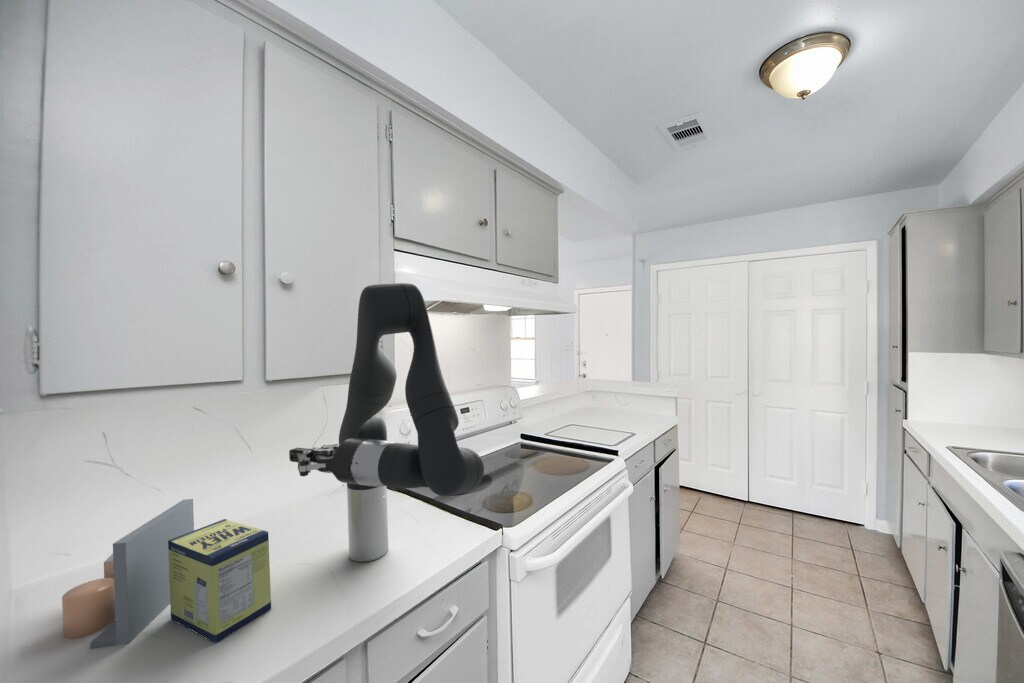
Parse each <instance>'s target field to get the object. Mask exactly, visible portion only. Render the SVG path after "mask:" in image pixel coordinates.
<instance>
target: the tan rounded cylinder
mask: <svg viewBox="0 0 1024 683" xmlns="http://www.w3.org/2000/svg"><path fill="white" fill-rule="evenodd" d="M61 605H62V606H61V607H62V626H63V628H62V630H63V638H64V639H68V640H69V639H70V640H71V639H79V638H82V637H88V636H90V635H92V634H95V633H97V632H99V631H101V630H103V629H105V628H108V627H109V626H110V625H111V624H112V623H113V622H115V621H116V617H115V590H114V579H113V578H104V577H103V578H96V579H93V580H90V581H87V582H84V583H81V584H79V585H77V586H75V587H73V588H71V589H69V590H68V591H65V593H64V594H63V595H62V597H61Z"/></svg>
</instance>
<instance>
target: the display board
mask: <svg viewBox="0 0 1024 683" xmlns="http://www.w3.org/2000/svg"><path fill="white" fill-rule="evenodd" d="M194 516H195V515H194V499H193V498H189V499H182V500H181V501H179V502H177V503H176V504H174V505H173V506H171V507H169V508H168V509H166V510H165V511H163V512H161V513H159V514H158V515H156V516H155V517H153V518H152V519H150V520H148V521H147V522H144V524H142V525H141V526H139V527H138V528H136V529H134V530H132V531H131V532H130V533H128V534H126V535H124V536H123V537H121V538H120V539H118V540H116V541H115V542H113V543H112V554H113V563H114V590H115V617H116V619H115V620H114V621H113V622H112V623H111V624H110V625H108V626H107V627H105V628H106V629H105V628H104V630H103V631H101V633H99V634H98V635H97V636H96V637H95V638H93V640H92V641H90V642H89V647H90V648H89V649H96V648H103V647H109V646H117V645H118V646H119V645H125V644H131V642H133V640H134V639H136V637H138V635H139V634H140V633H142V632H143V631H144V630H145V628H147V627H148V625H150V624H151V623H152V622H153V620H155V619H156V618H157V617H158V616H159V615H160V614H161V613H162V612H163V611H164V610H165V609H166V608H167V607H169V605H170V580H169V552H168V540H170V539H173V538H176V537H179V536H181V535H184V534H186V533H189V532H192V531H194V530H195V519H194V518H195V517H194ZM155 617H156V618H155ZM151 621H152V622H151ZM150 622H151V623H150Z"/></svg>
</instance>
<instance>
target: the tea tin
mask: <svg viewBox="0 0 1024 683" xmlns="http://www.w3.org/2000/svg"><path fill="white" fill-rule="evenodd" d="M103 578H113V579H114V563H113V553H111V554H110V555H109V556H108V557H107V559H106V560H105V561H103Z"/></svg>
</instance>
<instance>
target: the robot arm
mask: <svg viewBox="0 0 1024 683" xmlns="http://www.w3.org/2000/svg"><path fill="white" fill-rule="evenodd" d="M357 311H358V312H357V327H356V345H355V350H354V358H353V361H352V362H353V363H352V367H351V372H350V377H349V378H350V379H349V384H348V392H347V400H346V401H347V402H346V408H345V411H344V414H343V419H342V422H341V424H340V429H339V433H338V443H335V444H323V445H321V446H320V447H317V446H316V447H315V446H314V447H311V448H307V447H305V448H304V447H295V448H292V449H289V451H288V453H289V454H288V455H289V458H288V459H289V461H290V462H293V463H297V470H298V474H299V476H300V477H307V476H309V474H310V473H311V471H313V470H315V471H318V472H321V473H325V474H333V476H334V477H335V478H336V480H337V481H339V482H340V483H345V484H346V497H347V500H346V501H347V524H348V525H347V529H348V556H349V559H350V560H352V561H353V562H358V563H363V562H371V561H375V560H377V559H379V558H382V557H383V556H384V555H385V554H387V553H388V551H389V529H388V528H389V527H388V525H389V523H388V522H389V521H388V497H387V496H388V492H387V489H388V488H397V489H417V488H429V489H430V490H431V492H432V493H434V494H436V495H437V496H440V497H451V496H454V495H459V494H464V493H467V492H470V491H472V490H474V489H475V488H477V487H478V486H479V484H480V483H481V482H482V479H483V477H484V474H485V466H484V462H483V459H482V458H481V457H480V455H479V454H478V453H477V452H475V450H472V449H471V448H467V447H460V446H459V445H458V442H457V439H456V434H455V431H456V430H457V428H458V426H459V424H460V423H459V422H460V421H459V418H458V413H457V411H456V409H455V405H454V403H453V401H452V397H451V395H450V392H449V389H448V388H447V385H446V383H445V380H444V377H443V373H442V369H441V366H440V362H439V356H438V352H437V348H436V342H435V339H434V333H433V329H432V326H431V325H432V324H431V321H430V317H429V313H428V309H427V304H426V302H425V299H424V296H423V294H422V292H421V289H420V288H418V286H416V285H415V284H413V283H407V282H404V283H403V282H399V283H395V282H393V283H377V284H369V285H367V286H365V287H364V288H363V289H362V290H361V294H360V297H359V302H358V310H357ZM405 333H408V334H410V336H411V339H412V343H413V344H412V345H413V354H412V358H411V362H410V366H409V369H408V373H407V376H406V380H405V387H404V389H405V390H404V391H405V392H404V394H405V401H406V404H407V407H408V410H409V413H410V416H411V419H412V421H413V424H414V428H415V430H416V433H417V444H412V443H402V442H392V441H388V433H387V425H386V422H385V421H384V419H383V418H382V417H377V416H376V415H377V414H378V413H379V412H381V411H382V410H383V409H384V408H385V407H386V406H387V405H388V404H389V402H390V401H391V399H392V396H393V393H394V391H395V390H394V389H395V386H396V382H397V369H396V368H395V365H394V364H393V362H392V360H391V359H390V357H389V356H388V355H387V353H385V351H384V349H382V347H381V345H380V339H381V337H383V336H385V335H387V336H388V335H394V334H405ZM375 416H376V417H375Z"/></svg>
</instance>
